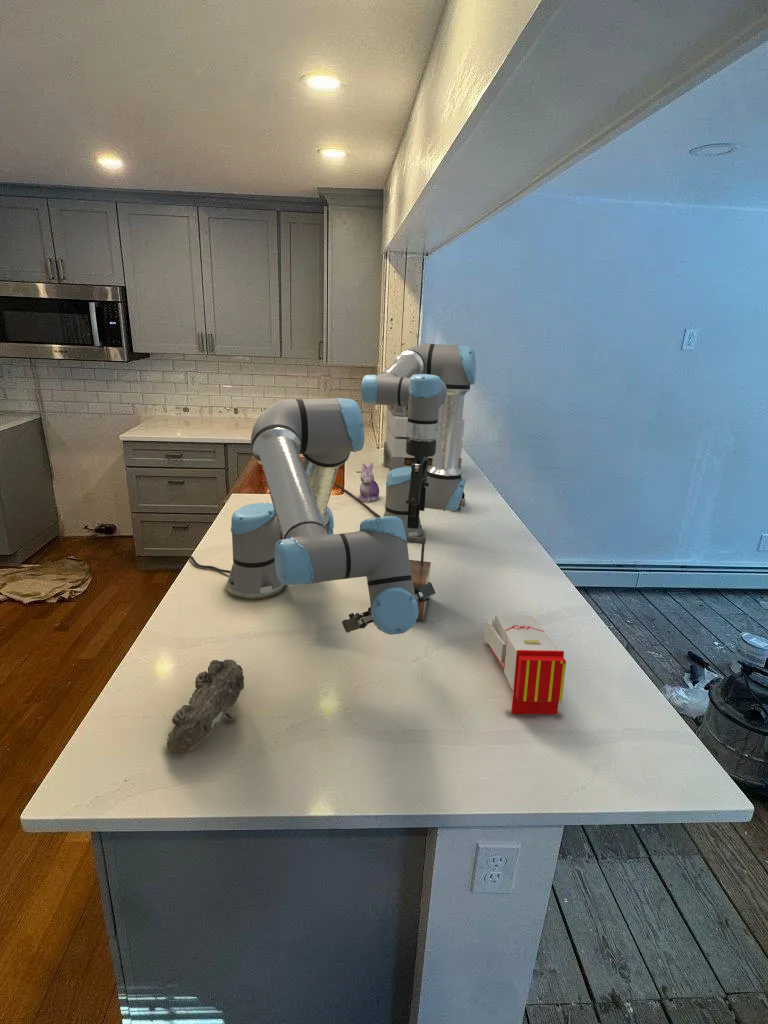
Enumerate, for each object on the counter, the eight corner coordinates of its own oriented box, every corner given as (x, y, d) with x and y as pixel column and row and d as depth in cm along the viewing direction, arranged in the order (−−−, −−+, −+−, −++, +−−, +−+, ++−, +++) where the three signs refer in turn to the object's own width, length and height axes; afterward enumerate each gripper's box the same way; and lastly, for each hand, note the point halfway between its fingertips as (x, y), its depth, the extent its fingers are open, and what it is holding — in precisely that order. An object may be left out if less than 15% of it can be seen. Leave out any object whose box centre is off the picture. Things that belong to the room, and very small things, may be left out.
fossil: (192, 660, 117) (244, 628, 112) (224, 691, 120) (276, 661, 115) (142, 746, 98) (202, 712, 93) (182, 779, 101) (242, 748, 96)
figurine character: (465, 515, 224) (460, 499, 237) (467, 498, 221) (462, 483, 234) (448, 515, 224) (444, 499, 237) (450, 498, 220) (445, 482, 234)
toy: (530, 600, 137) (574, 657, 108) (525, 651, 140) (567, 720, 111) (480, 599, 137) (511, 656, 107) (477, 651, 139) (506, 719, 110)
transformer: (382, 463, 289) (386, 382, 275) (445, 464, 293) (451, 384, 279) (390, 482, 257) (394, 392, 243) (460, 483, 261) (468, 394, 247)
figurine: (363, 503, 228) (365, 467, 223) (353, 496, 237) (354, 461, 232) (384, 501, 233) (386, 465, 227) (373, 493, 241) (374, 459, 236)
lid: (397, 561, 156) (399, 531, 153) (430, 565, 154) (433, 535, 151) (389, 583, 143) (390, 551, 140) (425, 587, 141) (427, 555, 139)
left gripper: (337, 656, 103) (342, 645, 124) (461, 600, 105) (445, 599, 126) (321, 617, 104) (328, 613, 125) (444, 563, 106) (432, 568, 127)
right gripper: (431, 451, 129) (425, 537, 136) (440, 430, 152) (435, 504, 159) (398, 448, 130) (394, 534, 137) (413, 428, 153) (408, 502, 160)
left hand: (387, 606), depth 125 cm, fingers open, 13 cm apart
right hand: (416, 518), depth 148 cm, fingers open, 13 cm apart
